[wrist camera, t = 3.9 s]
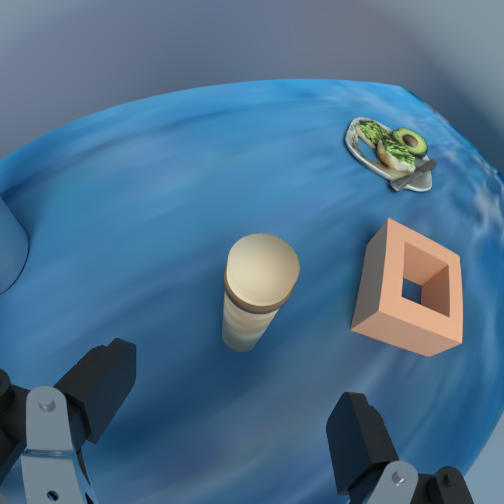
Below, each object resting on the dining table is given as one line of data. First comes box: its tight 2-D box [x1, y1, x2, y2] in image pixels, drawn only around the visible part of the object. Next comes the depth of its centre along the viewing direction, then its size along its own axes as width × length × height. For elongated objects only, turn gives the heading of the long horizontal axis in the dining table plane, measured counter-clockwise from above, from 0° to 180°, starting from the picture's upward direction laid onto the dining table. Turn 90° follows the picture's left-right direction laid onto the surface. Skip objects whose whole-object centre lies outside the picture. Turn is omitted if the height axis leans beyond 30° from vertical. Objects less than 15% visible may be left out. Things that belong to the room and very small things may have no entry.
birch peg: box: [222, 233, 300, 353], centre depth 16 cm, size 3×3×12 cm
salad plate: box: [345, 117, 437, 192], centre depth 37 cm, size 19×18×5 cm
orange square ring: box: [350, 218, 463, 357], centre depth 23 cm, size 10×10×5 cm
